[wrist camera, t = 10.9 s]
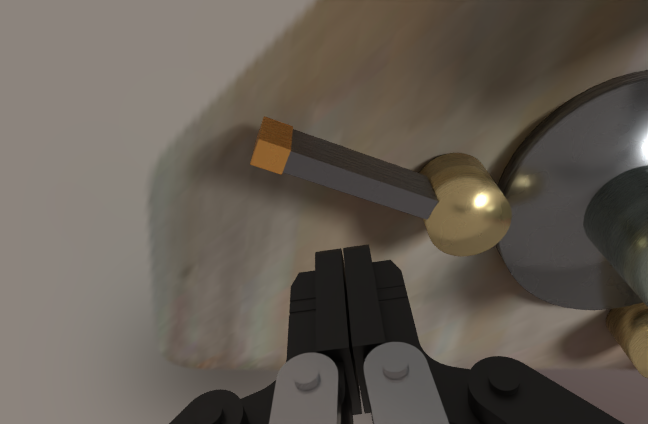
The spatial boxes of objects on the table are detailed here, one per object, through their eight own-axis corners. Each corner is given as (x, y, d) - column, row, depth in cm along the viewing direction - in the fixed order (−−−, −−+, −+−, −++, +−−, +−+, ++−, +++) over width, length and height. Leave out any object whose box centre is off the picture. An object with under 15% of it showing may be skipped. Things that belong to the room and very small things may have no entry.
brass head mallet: (250, 155, 27) (241, 190, 24) (274, 83, 25) (268, 110, 21) (464, 225, 30) (484, 266, 26) (501, 167, 28) (529, 202, 24)
